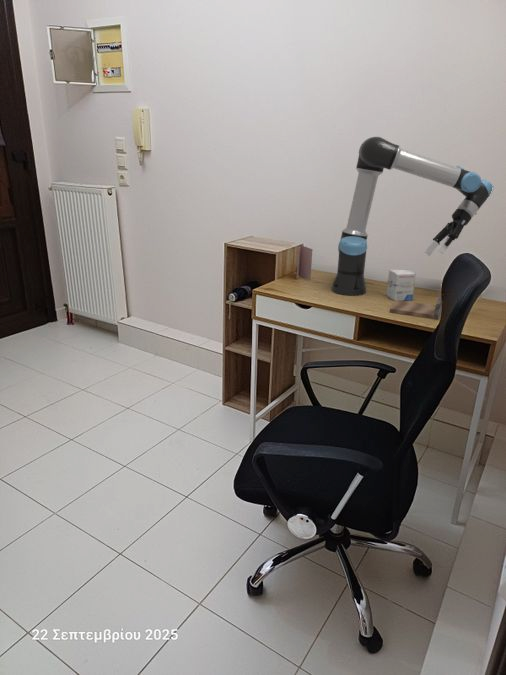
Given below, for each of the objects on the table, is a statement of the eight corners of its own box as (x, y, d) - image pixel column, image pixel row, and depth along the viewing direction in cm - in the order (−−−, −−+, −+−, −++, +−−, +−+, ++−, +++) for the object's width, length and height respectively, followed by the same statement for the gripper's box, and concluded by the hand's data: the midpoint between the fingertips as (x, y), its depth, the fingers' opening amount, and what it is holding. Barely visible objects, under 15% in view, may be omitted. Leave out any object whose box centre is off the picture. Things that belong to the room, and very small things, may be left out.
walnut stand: (389, 312, 190) (391, 297, 188) (395, 303, 202) (397, 289, 200) (437, 319, 183) (440, 304, 181) (441, 309, 195) (443, 295, 193)
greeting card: (297, 274, 245) (299, 245, 240) (312, 275, 244) (314, 245, 238) (294, 280, 235) (296, 249, 229) (310, 281, 233) (312, 250, 228)
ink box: (403, 295, 214) (407, 268, 210) (412, 300, 206) (416, 273, 202) (385, 295, 213) (388, 269, 209) (393, 301, 205) (397, 273, 201)
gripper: (486, 214, 197) (453, 256, 198) (457, 222, 221) (428, 259, 223) (472, 202, 196) (439, 245, 197) (445, 212, 221) (416, 249, 222)
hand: (433, 252), depth 210 cm, fingers open, 13 cm apart
